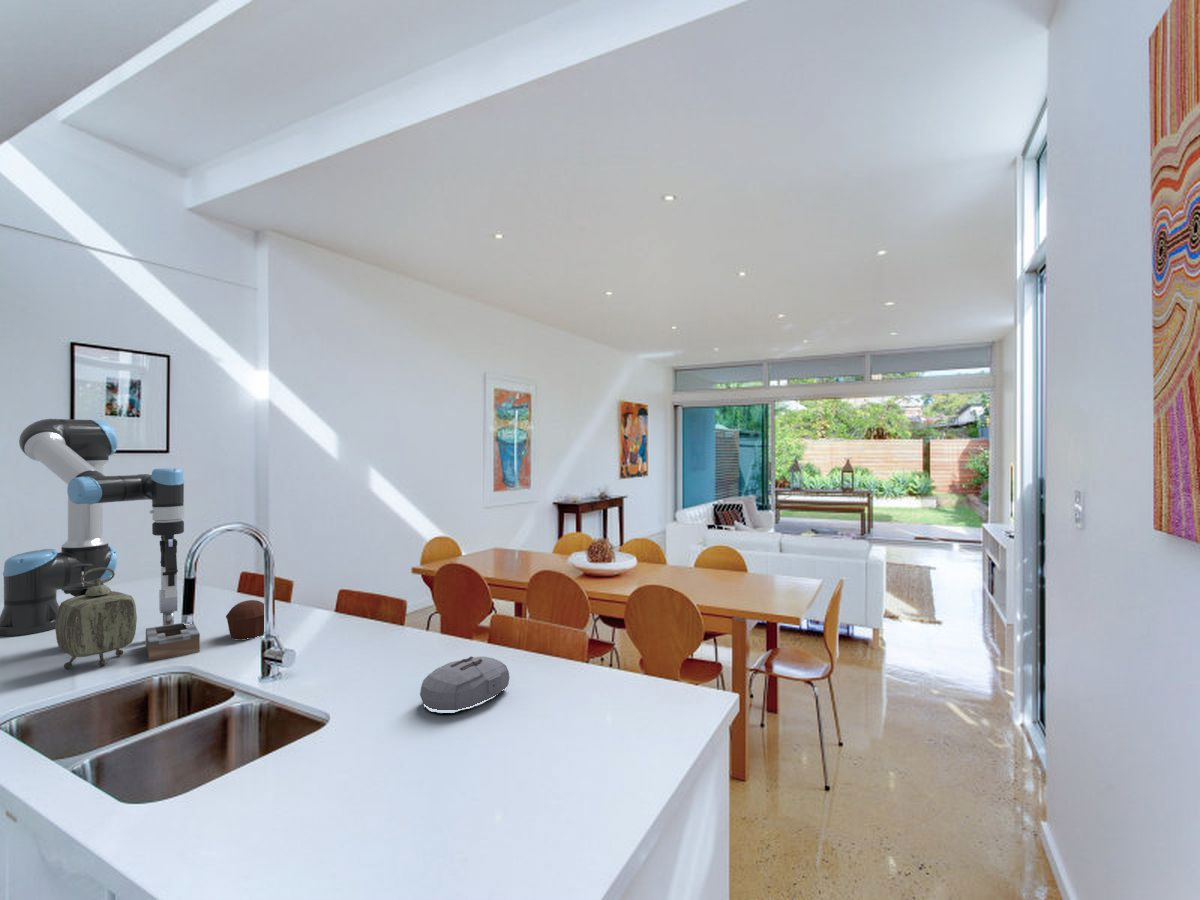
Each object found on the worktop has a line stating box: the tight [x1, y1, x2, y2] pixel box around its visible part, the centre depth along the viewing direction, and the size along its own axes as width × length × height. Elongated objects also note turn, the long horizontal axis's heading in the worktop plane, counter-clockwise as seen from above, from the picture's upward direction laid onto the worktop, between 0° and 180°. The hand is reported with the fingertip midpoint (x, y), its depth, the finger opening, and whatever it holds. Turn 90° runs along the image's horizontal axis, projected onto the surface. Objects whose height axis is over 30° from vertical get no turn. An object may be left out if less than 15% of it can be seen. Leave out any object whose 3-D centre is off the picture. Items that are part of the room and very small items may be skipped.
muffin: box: [225, 599, 265, 640], centre depth 176 cm, size 12×11×10 cm
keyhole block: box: [145, 620, 201, 662], centre depth 163 cm, size 15×11×5 cm
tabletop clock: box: [54, 567, 138, 670], centre depth 152 cm, size 14×9×25 cm, turn 149°
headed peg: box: [158, 589, 178, 626], centre depth 173 cm, size 5×5×14 cm
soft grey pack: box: [419, 656, 510, 710], centre depth 132 cm, size 15×8×20 cm
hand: (168, 593), depth 173 cm, fingers open, 13 cm apart
